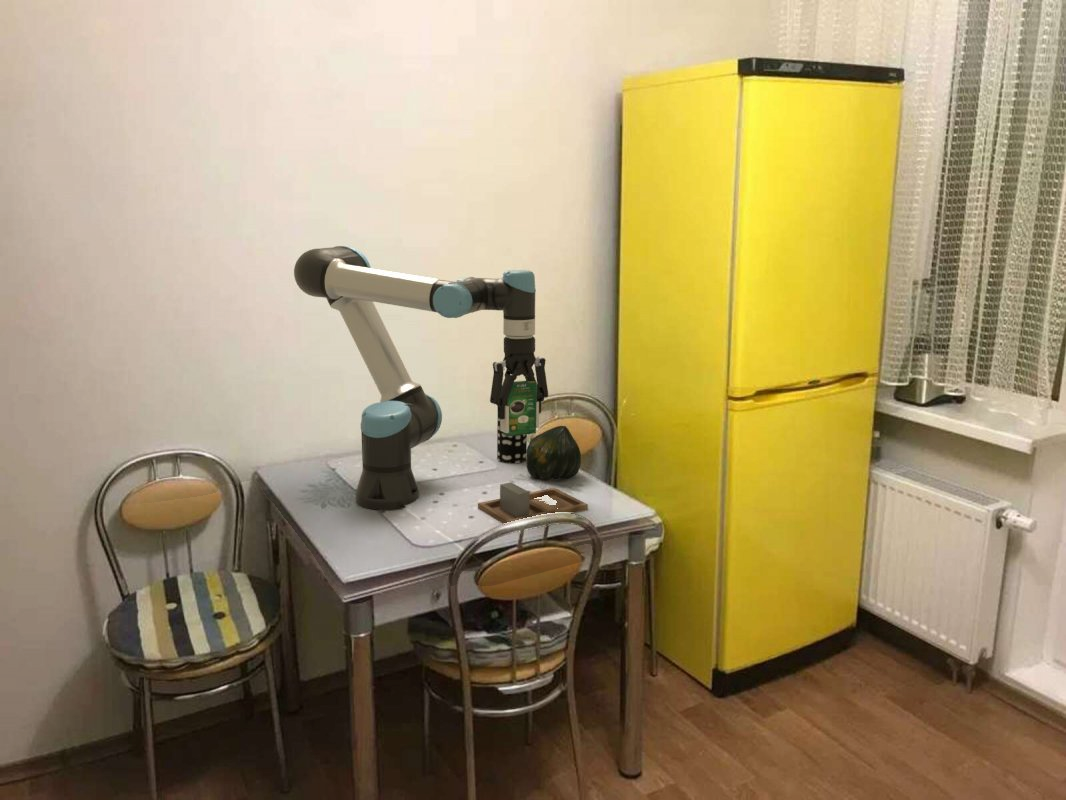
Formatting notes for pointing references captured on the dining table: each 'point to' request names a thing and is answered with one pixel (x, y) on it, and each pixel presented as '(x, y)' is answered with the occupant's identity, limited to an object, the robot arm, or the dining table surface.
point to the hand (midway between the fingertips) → (519, 429)
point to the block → (514, 500)
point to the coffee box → (522, 408)
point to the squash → (553, 455)
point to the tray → (536, 505)
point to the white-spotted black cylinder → (511, 447)
